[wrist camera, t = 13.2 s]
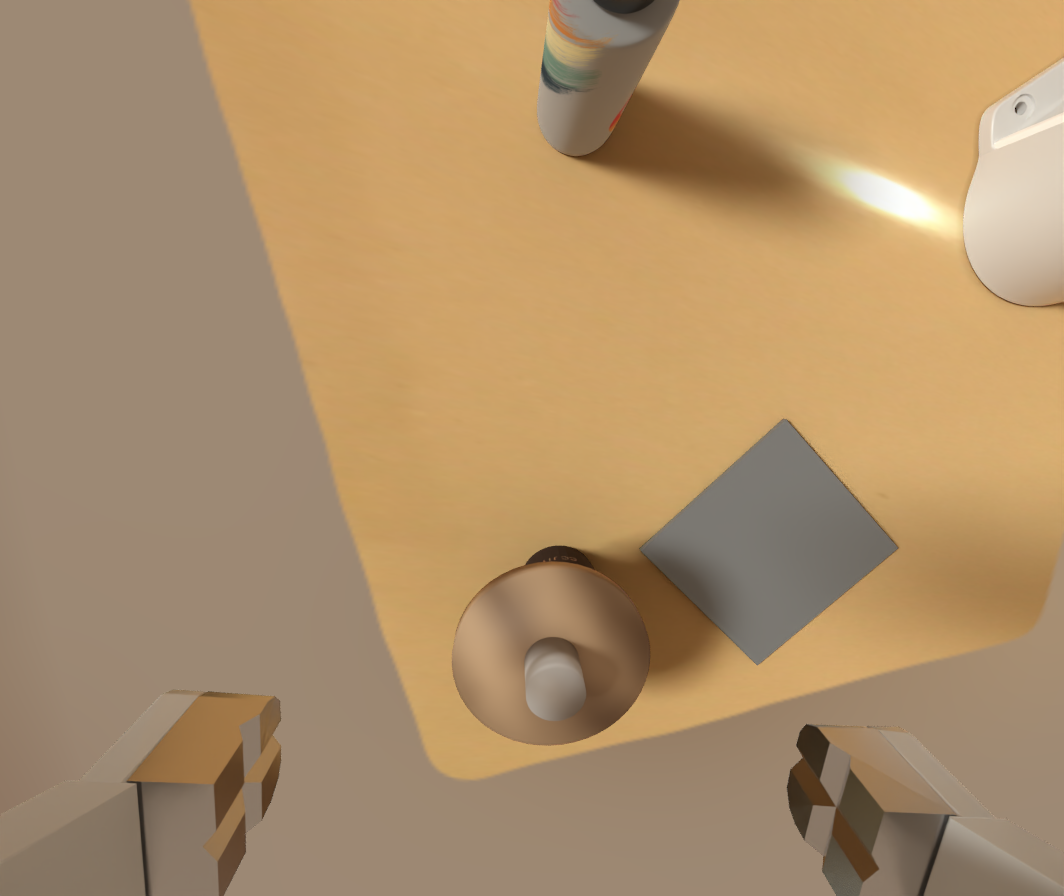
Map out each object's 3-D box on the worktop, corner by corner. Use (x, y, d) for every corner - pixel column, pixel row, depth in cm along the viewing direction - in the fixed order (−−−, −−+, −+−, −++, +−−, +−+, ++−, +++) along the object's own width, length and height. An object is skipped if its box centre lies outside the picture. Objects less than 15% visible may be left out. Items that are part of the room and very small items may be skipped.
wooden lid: (551, 522, 33) (558, 551, 29) (684, 647, 35) (708, 691, 31) (413, 653, 35) (399, 699, 30) (549, 764, 37) (554, 820, 33)
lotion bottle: (624, 79, 36) (757, -209, 17) (605, 166, 38) (709, -9, 18) (545, 59, 36) (589, -262, 16) (528, 147, 37) (551, -54, 18)
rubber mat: (783, 418, 42) (786, 419, 42) (894, 545, 45) (898, 548, 45) (639, 548, 44) (640, 551, 44) (754, 662, 47) (757, 665, 47)
